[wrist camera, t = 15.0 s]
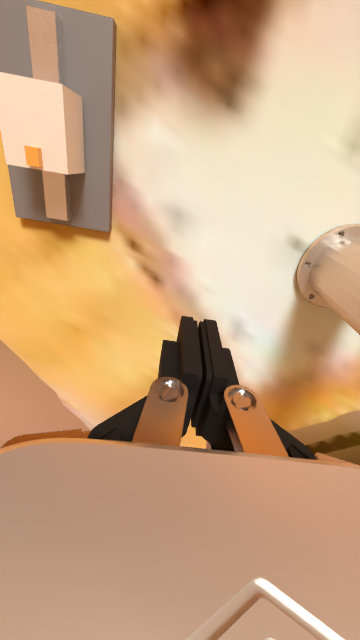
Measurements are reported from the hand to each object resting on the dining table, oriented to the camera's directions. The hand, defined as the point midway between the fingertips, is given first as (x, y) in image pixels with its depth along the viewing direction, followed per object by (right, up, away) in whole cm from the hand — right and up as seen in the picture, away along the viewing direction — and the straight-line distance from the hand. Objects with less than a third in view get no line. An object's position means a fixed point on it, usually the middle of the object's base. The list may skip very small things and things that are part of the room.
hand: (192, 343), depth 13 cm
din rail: (-14, +22, +16) cm, 31 cm away
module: (-14, +22, +16) cm, 31 cm away
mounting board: (-14, +23, +18) cm, 32 cm away
